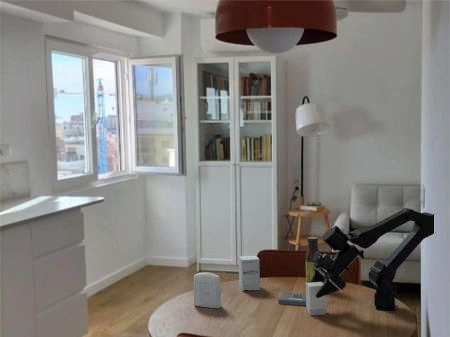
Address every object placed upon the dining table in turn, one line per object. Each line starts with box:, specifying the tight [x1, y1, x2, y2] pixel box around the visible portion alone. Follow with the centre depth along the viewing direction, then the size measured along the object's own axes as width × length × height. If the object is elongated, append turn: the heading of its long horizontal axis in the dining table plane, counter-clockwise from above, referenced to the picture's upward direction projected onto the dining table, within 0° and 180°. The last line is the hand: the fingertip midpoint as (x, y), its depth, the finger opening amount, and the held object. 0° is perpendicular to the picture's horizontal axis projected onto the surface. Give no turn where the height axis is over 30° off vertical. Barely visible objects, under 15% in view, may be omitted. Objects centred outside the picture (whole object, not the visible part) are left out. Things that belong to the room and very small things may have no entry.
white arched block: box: [193, 271, 222, 309], centre depth 192 cm, size 10×4×12 cm, turn 67°
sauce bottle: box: [305, 236, 320, 284], centre depth 211 cm, size 6×6×20 cm
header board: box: [278, 291, 306, 306], centre depth 196 cm, size 12×10×3 cm
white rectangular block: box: [305, 282, 327, 316], centre depth 182 cm, size 6×4×10 cm
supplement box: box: [238, 255, 261, 292], centre depth 213 cm, size 7×7×13 cm
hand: (312, 293), depth 181 cm, fingers open, 9 cm apart
